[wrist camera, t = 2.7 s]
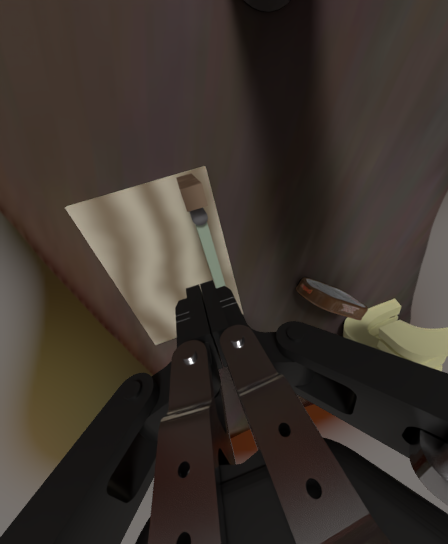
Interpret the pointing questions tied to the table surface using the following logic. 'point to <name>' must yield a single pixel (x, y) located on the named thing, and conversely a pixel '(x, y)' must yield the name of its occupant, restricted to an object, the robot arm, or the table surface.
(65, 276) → the table surface
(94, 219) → the gate frame
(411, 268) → the table surface
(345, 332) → the pale yellow c-shaped piece
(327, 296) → the tin
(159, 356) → the table surface
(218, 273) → the gate
